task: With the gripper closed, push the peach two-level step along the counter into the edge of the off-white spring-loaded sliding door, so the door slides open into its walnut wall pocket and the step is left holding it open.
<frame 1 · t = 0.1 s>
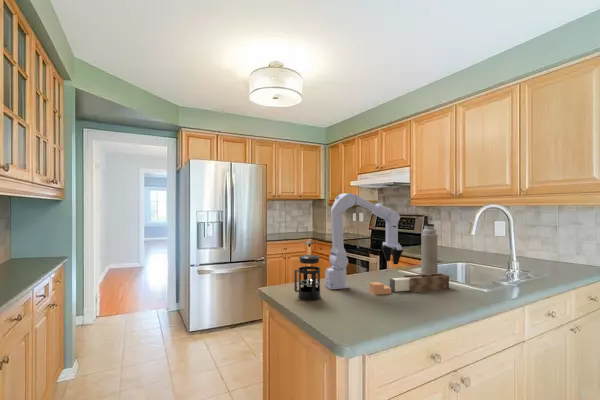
hand: (391, 262, 150), 10 cm above the counter, tool pointing down, fingers open, 7 cm apart
peach two-level step: (380, 293, 134), on the counter
thermos bottle: (429, 276, 164), on the counter
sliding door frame: (389, 291, 135), on the counter
sliding door: (407, 283, 138), point 3 cm above the counter, slide at 0.0 cm
french press: (308, 297, 128), on the counter
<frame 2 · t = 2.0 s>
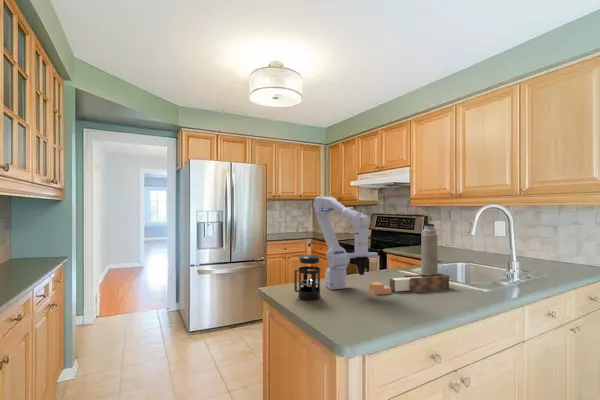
hand: (361, 274, 132), 8 cm above the counter, tool pointing down, fingers closed
nothing on the counter moved.
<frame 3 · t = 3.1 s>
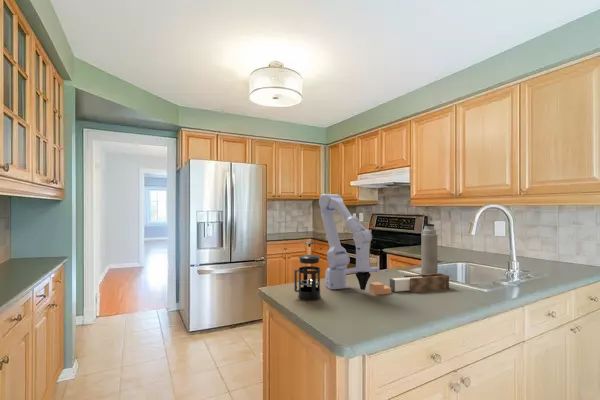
hand: (362, 289, 132), 2 cm above the counter, tool pointing down, fingers closed
nothing on the counter moved.
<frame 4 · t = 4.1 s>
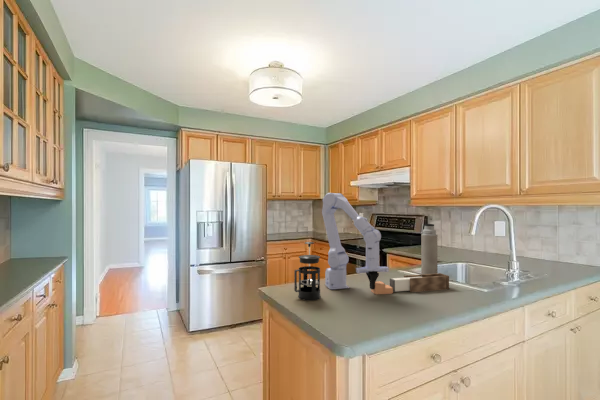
hand: (372, 288, 134), 2 cm above the counter, tool pointing down, fingers closed, pressing on peach two-level step
peach two-level step: (381, 292, 135), on the counter, touching gripper
everything else where it was.
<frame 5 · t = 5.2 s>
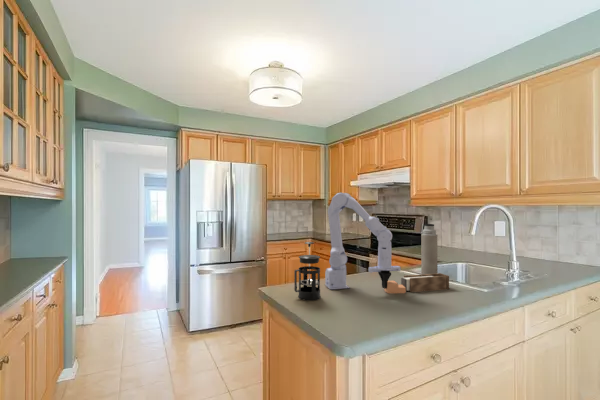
hand: (384, 287, 135), 2 cm above the counter, tool pointing down, fingers closed, pressing on peach two-level step
peach two-level step: (394, 291, 136), on the counter, touching gripper
sliding door: (418, 283, 139), point 3 cm above the counter, slide at 5.8 cm
everything else where it was.
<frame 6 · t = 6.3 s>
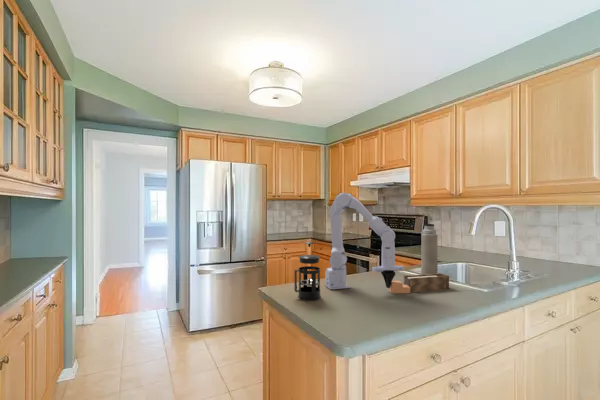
hand: (388, 287, 135), 2 cm above the counter, tool pointing down, fingers closed
peach two-level step: (399, 291, 136), on the counter, touching gripper
sliding door: (422, 282, 139), point 3 cm above the counter, slide at 8.0 cm
everything else where it was.
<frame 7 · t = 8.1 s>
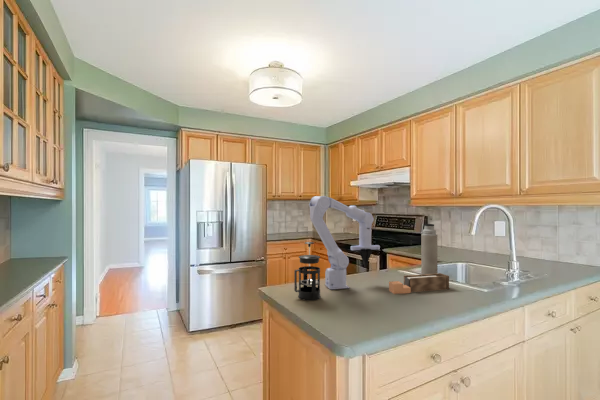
hand: (365, 264, 149), 9 cm above the counter, tool pointing down, fingers closed
peach two-level step: (399, 292, 135), on the counter
everything else where it was.
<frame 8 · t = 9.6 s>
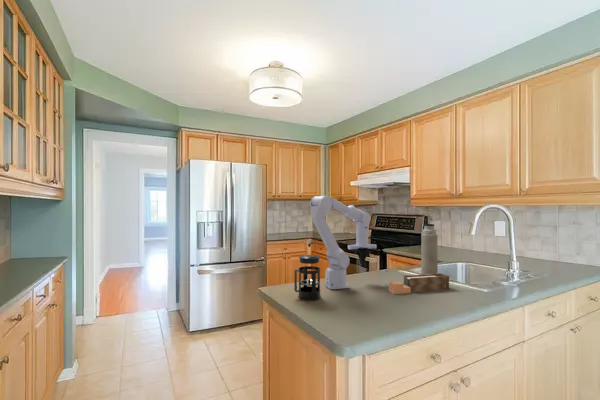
hand: (362, 263, 151), 9 cm above the counter, tool pointing down, fingers closed
sliding door: (421, 282, 139), point 3 cm above the counter, slide at 7.3 cm
everything else where it was.
at the end: sliding door slide at 7.3 cm; peach two-level step inside the target area (1.4 cm from its centre), on the counter; peach two-level step tilted 0° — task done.
